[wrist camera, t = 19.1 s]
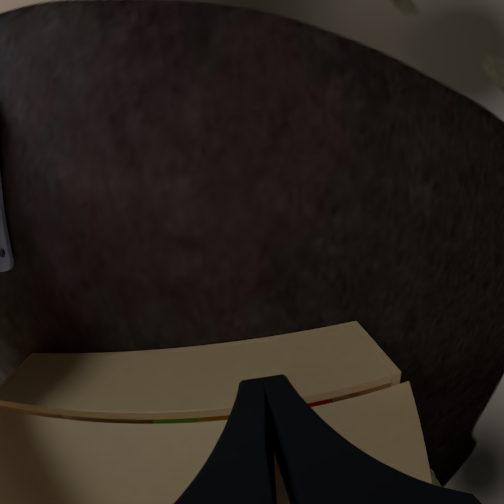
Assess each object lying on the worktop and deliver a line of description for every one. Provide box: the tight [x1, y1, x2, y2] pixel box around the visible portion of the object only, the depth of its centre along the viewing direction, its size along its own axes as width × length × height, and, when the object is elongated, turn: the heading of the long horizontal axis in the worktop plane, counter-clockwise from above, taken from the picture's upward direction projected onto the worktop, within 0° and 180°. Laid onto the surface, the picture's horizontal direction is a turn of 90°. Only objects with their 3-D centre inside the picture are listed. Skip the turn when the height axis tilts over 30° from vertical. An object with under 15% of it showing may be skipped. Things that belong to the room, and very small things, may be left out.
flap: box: [0, 381, 432, 504], centre depth 7 cm, size 5×18×1 cm
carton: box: [0, 321, 401, 424], centre depth 13 cm, size 11×18×5 cm, turn 97°
